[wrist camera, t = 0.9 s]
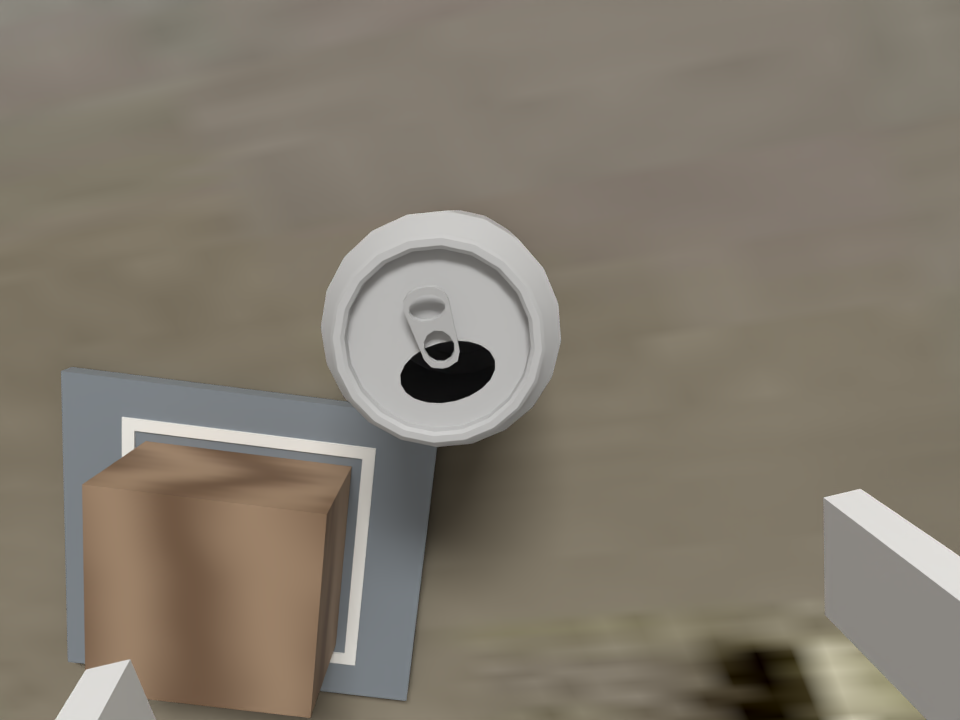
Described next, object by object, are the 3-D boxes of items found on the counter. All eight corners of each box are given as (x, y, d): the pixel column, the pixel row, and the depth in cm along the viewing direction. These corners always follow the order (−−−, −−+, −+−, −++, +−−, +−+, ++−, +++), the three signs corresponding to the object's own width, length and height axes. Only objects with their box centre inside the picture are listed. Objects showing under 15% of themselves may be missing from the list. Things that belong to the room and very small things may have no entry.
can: (401, 386, 31) (351, 493, 19) (355, 234, 29) (269, 250, 18) (552, 347, 30) (593, 434, 19) (514, 190, 29) (533, 178, 17)
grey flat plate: (441, 413, 31) (440, 419, 30) (407, 689, 35) (405, 702, 34) (71, 367, 31) (59, 371, 30) (77, 651, 35) (66, 662, 34)
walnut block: (351, 466, 31) (326, 514, 26) (335, 643, 33) (310, 718, 28) (145, 441, 31) (81, 484, 26) (144, 621, 33) (85, 692, 28)
